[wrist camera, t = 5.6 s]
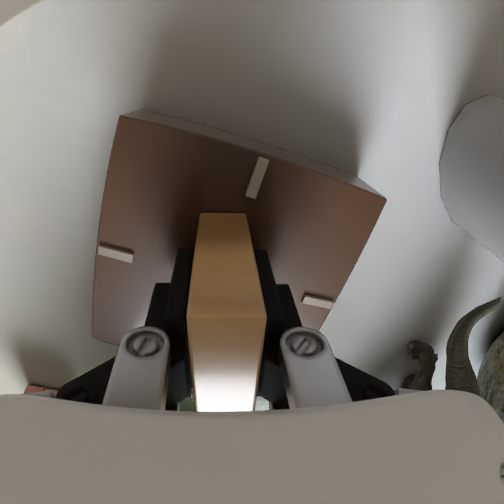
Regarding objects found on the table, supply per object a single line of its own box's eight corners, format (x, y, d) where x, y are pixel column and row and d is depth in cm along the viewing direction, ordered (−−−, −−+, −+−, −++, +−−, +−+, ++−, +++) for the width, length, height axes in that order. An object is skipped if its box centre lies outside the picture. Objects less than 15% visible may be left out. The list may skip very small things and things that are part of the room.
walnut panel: (358, 177, 14) (389, 200, 11) (280, 339, 18) (290, 381, 15) (140, 109, 12) (117, 115, 9) (107, 301, 16) (90, 341, 13)
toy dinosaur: (458, 256, 17) (574, 384, 7) (504, 297, 19) (583, 393, 9) (273, 447, 25) (291, 558, 15) (341, 453, 28) (366, 544, 18)
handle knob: (199, 211, 11) (184, 324, 6) (246, 212, 11) (269, 324, 6) (201, 332, 13) (199, 452, 8) (238, 333, 14) (250, 451, 9)
